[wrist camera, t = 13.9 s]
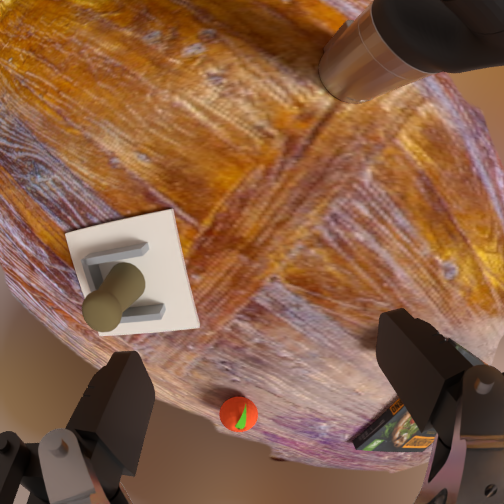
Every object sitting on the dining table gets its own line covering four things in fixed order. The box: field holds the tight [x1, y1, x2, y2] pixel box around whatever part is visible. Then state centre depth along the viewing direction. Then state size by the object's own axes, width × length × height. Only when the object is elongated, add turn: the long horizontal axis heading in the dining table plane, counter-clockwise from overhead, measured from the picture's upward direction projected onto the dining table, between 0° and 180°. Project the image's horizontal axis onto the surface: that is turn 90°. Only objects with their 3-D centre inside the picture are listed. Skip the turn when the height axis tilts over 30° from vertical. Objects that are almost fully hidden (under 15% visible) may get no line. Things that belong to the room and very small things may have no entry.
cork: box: [82, 262, 145, 332], centre depth 33 cm, size 6×6×11 cm
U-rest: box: [65, 208, 200, 336], centre depth 37 cm, size 18×18×4 cm
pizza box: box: [353, 339, 487, 452], centre depth 53 cm, size 35×35×4 cm
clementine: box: [219, 397, 258, 432], centre depth 44 cm, size 8×7×7 cm
